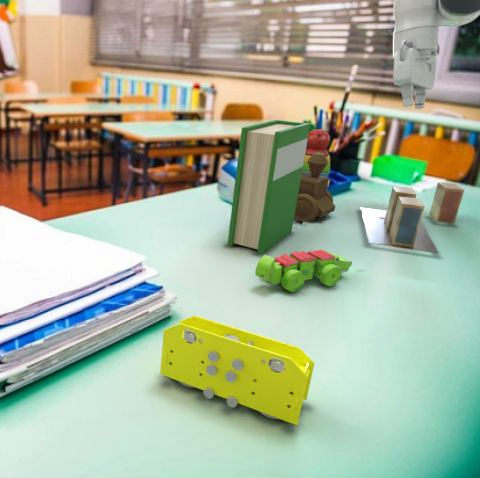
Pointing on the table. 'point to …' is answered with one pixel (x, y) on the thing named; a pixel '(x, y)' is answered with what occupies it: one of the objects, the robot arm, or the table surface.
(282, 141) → the hardback book
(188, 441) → the table surface
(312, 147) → the stacking bear
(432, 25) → the robot arm
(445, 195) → the tile
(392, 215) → the tile
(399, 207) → the tile
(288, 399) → the yellow toy chassis
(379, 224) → the word board
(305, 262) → the toy crocodile
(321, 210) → the wooden toy train
